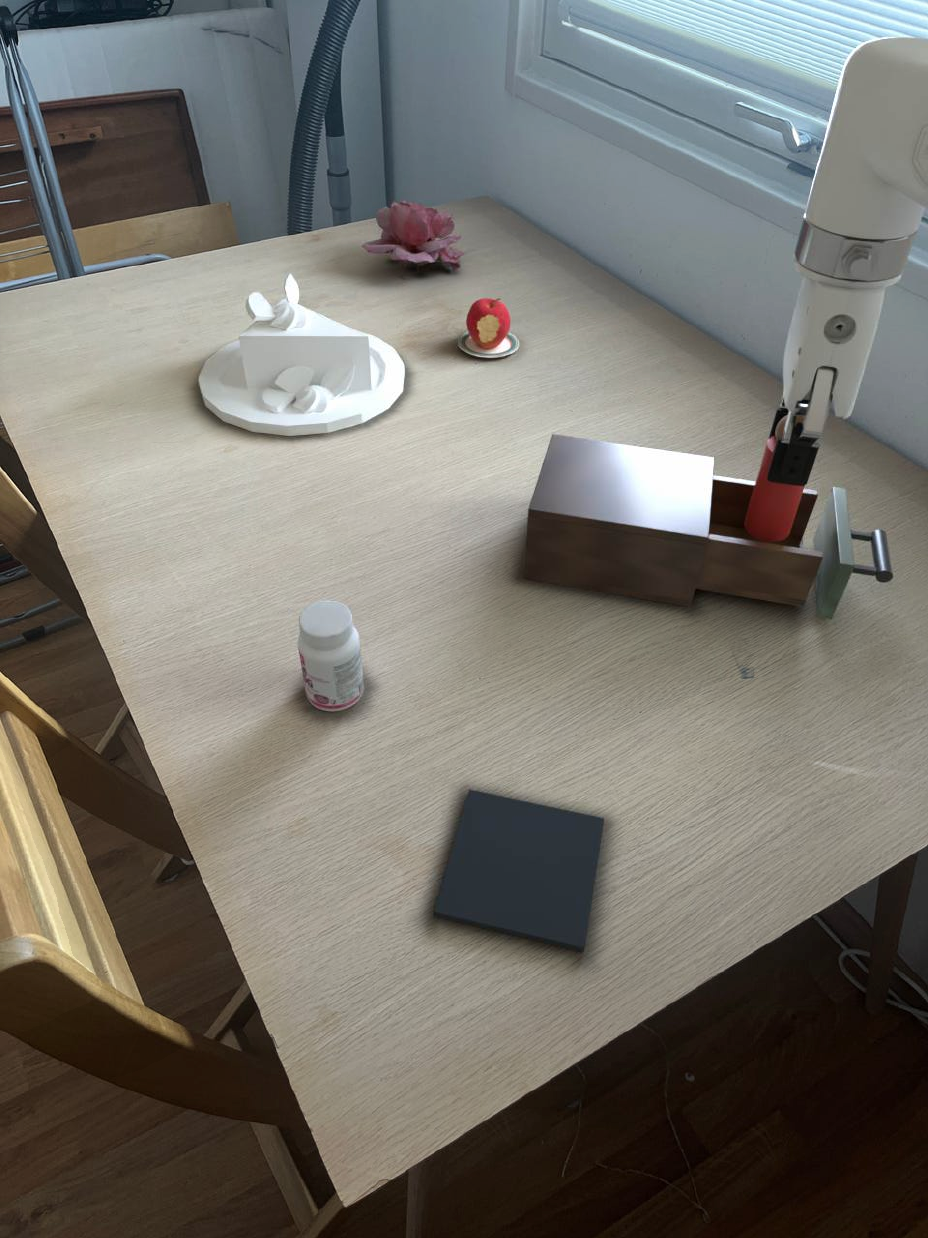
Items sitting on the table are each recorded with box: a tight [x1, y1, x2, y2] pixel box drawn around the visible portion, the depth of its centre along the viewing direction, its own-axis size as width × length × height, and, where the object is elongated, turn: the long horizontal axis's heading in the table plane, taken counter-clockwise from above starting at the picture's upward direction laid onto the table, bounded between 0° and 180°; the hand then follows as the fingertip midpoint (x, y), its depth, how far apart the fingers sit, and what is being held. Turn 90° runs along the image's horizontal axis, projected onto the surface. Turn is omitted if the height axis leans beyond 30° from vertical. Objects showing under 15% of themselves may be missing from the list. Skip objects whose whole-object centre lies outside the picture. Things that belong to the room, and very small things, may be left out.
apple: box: [457, 297, 520, 359], centre depth 113 cm, size 8×8×6 cm
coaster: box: [433, 789, 605, 953], centre depth 60 cm, size 10×10×1 cm
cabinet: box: [522, 433, 715, 608], centre depth 83 cm, size 16×13×8 cm
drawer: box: [695, 474, 894, 620], centre depth 80 cm, size 19×11×6 cm, turn 76°
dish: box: [197, 273, 406, 437], centre depth 104 cm, size 25×25×11 cm
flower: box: [361, 199, 465, 274], centre depth 130 cm, size 15×15×10 cm
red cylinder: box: [744, 415, 806, 542], centre depth 75 cm, size 4×4×12 cm
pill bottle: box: [297, 600, 365, 712], centre depth 69 cm, size 5×5×8 cm
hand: (785, 464), depth 75 cm, fingers closed on red cylinder, 4 cm apart
